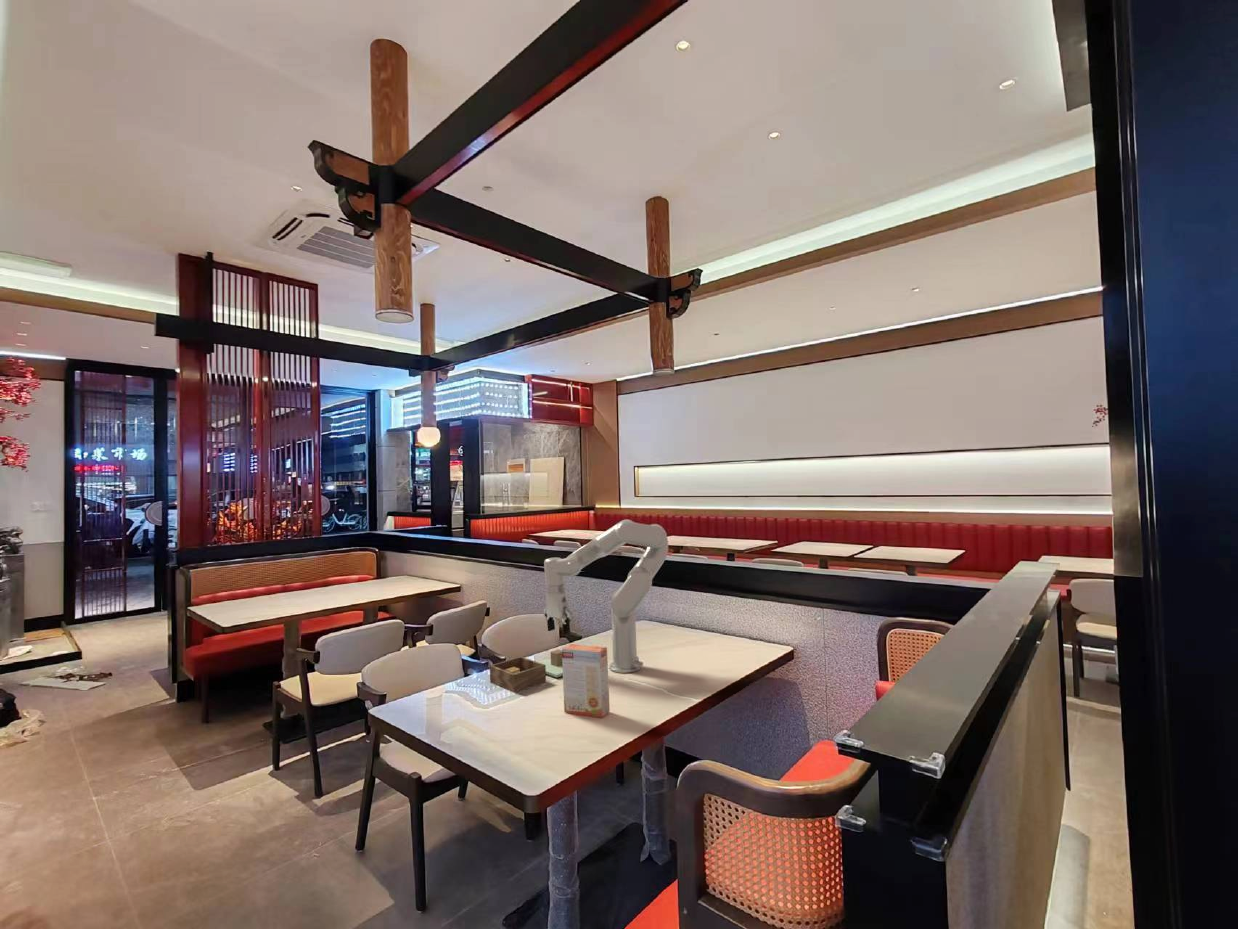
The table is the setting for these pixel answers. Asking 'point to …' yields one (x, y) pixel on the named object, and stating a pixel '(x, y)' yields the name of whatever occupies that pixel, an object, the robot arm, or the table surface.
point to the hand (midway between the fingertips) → (558, 631)
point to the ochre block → (513, 670)
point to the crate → (518, 674)
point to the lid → (554, 664)
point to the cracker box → (585, 680)
